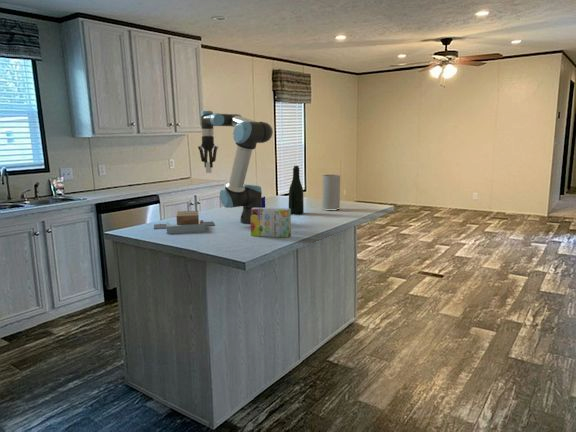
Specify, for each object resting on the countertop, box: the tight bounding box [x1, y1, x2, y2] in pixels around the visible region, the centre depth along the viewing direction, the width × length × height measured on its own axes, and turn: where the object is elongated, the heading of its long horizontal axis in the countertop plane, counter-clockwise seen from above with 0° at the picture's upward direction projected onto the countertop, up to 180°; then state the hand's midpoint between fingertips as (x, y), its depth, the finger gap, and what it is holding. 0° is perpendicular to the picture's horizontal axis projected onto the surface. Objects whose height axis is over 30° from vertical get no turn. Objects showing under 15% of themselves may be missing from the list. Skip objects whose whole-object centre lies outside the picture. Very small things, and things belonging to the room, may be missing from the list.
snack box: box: [250, 207, 292, 239], centre depth 235 cm, size 21×6×15 cm, turn 77°
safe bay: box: [165, 219, 206, 235], centre depth 250 cm, size 14×21×4 cm, turn 106°
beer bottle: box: [288, 165, 305, 215], centre depth 301 cm, size 10×10×33 cm
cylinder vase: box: [321, 174, 341, 209], centre depth 318 cm, size 12×12×25 cm
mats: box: [153, 220, 216, 230], centre depth 263 cm, size 12×35×1 cm, turn 106°
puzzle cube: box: [262, 195, 266, 208], centre depth 315 cm, size 10×10×10 cm
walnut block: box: [176, 210, 200, 225], centre depth 255 cm, size 16×12×9 cm
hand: (208, 172), depth 285 cm, fingers closed
